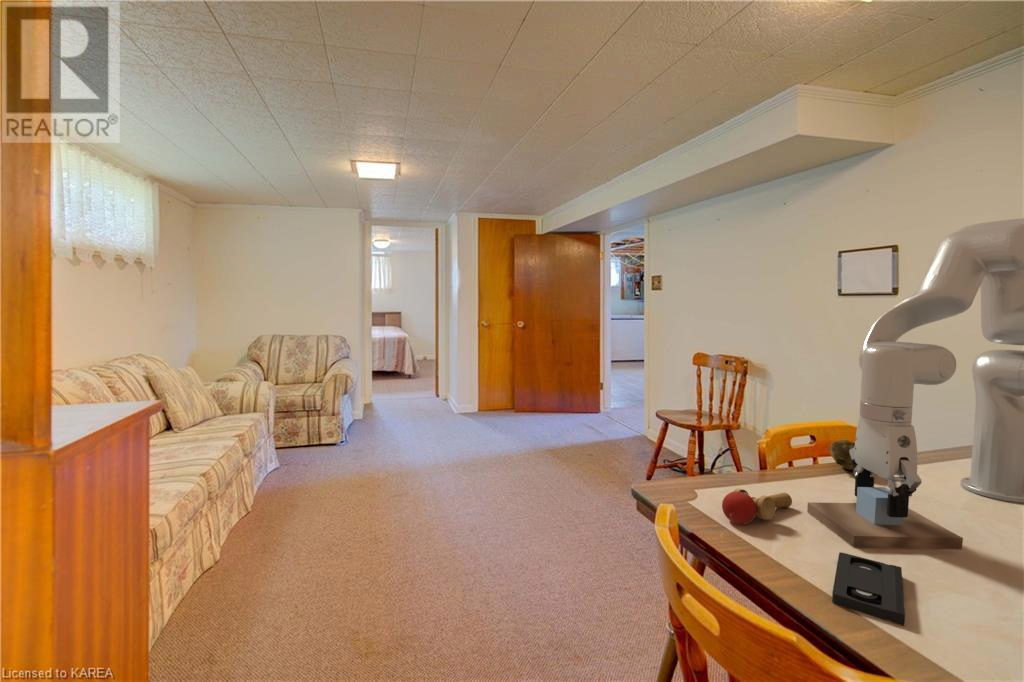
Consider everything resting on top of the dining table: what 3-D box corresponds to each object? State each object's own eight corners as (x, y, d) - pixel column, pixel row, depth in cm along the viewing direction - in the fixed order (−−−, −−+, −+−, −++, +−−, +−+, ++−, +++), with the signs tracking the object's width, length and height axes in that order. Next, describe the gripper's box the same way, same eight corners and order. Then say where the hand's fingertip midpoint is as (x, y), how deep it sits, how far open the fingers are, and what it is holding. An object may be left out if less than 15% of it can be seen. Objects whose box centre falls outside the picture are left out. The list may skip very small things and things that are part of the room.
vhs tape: (838, 563, 79) (839, 551, 79) (900, 579, 74) (901, 567, 74) (831, 606, 68) (832, 593, 67) (903, 629, 63) (904, 615, 63)
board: (899, 513, 96) (900, 503, 96) (962, 549, 82) (962, 538, 82) (807, 512, 97) (807, 502, 97) (853, 547, 83) (853, 536, 83)
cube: (883, 512, 92) (884, 487, 91) (903, 525, 87) (904, 498, 86) (855, 512, 92) (857, 487, 92) (874, 524, 87) (875, 497, 87)
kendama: (762, 504, 104) (707, 511, 95) (771, 478, 103) (716, 482, 94) (797, 525, 97) (741, 534, 88) (806, 496, 96) (752, 503, 87)
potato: (875, 468, 122) (876, 437, 122) (856, 479, 115) (857, 446, 114) (837, 460, 129) (839, 430, 128) (817, 470, 121) (818, 438, 121)
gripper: (947, 425, 79) (940, 528, 80) (872, 403, 96) (868, 488, 98) (900, 425, 79) (893, 527, 81) (834, 403, 97) (830, 488, 98)
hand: (879, 505), depth 89 cm, fingers open, 8 cm apart
